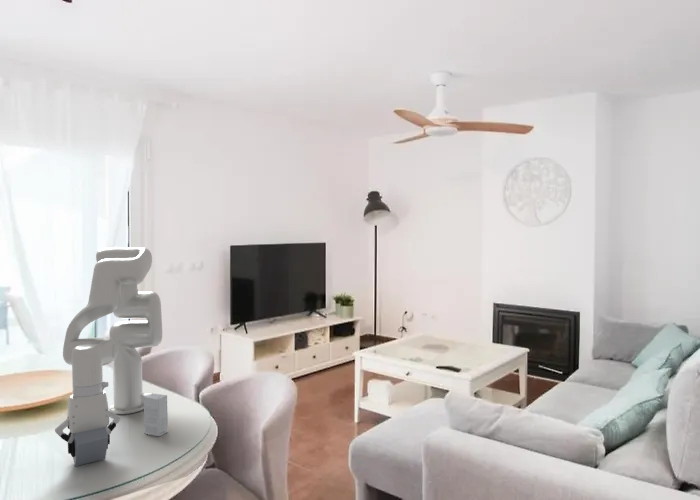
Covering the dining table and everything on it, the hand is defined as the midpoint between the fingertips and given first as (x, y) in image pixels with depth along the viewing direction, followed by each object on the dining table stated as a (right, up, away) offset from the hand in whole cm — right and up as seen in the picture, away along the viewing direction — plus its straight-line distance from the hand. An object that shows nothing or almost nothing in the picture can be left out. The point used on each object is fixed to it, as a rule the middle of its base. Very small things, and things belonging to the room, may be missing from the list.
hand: (89, 450), depth 146 cm
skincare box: (+11, -2, +20) cm, 23 cm away
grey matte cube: (-1, -1, +2) cm, 3 cm away
